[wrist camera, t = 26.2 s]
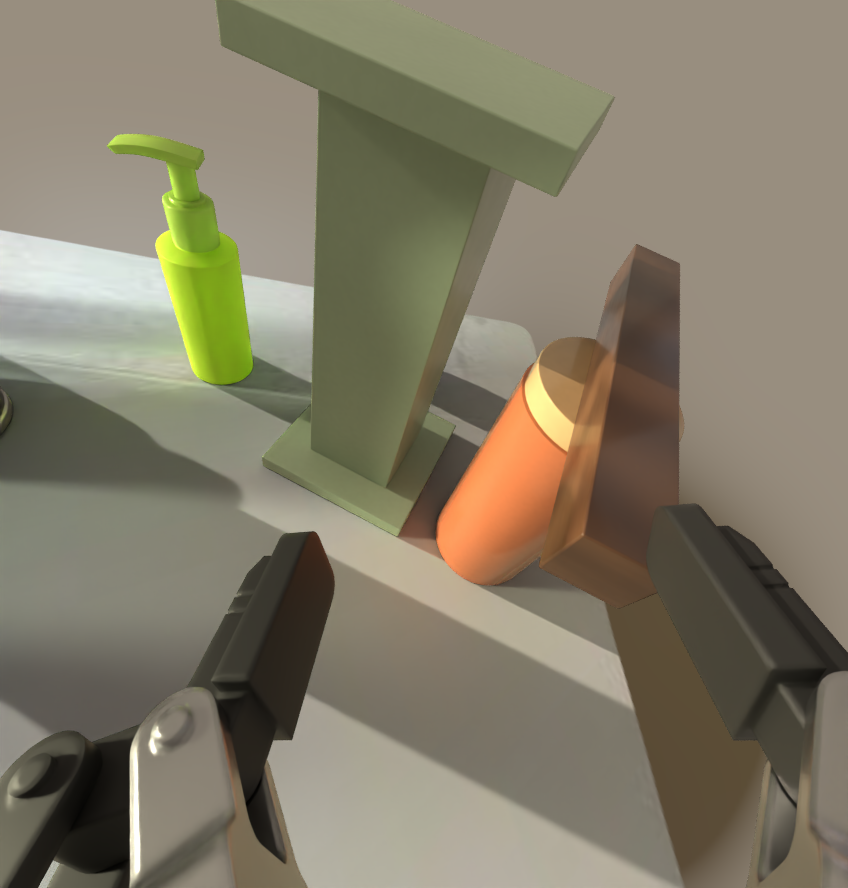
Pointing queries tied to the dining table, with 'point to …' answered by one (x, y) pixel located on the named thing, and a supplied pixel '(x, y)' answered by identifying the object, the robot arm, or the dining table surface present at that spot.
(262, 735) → the robot arm
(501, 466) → the terracotta jar
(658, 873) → the dining table surface
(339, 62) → the plant stand
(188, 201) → the soap dispenser
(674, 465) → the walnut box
